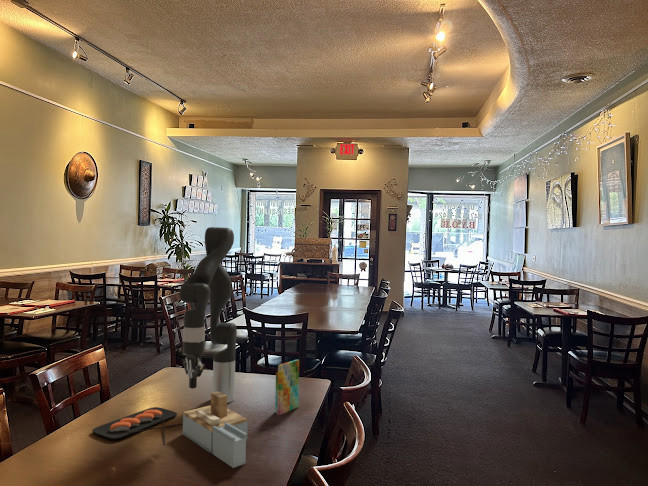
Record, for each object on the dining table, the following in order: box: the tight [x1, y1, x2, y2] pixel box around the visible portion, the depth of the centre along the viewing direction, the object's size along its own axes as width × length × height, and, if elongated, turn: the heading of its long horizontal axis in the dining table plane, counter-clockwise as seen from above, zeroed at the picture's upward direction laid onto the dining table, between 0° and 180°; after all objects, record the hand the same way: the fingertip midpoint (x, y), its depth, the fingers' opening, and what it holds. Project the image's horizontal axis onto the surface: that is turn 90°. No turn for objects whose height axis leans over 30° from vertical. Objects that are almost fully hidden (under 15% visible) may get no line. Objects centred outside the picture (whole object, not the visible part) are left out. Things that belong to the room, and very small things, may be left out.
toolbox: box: [182, 414, 249, 469], centre depth 160 cm, size 33×14×9 cm, turn 43°
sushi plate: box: [91, 406, 183, 446], centre depth 171 cm, size 29×30×4 cm
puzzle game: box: [274, 359, 300, 416], centre depth 193 cm, size 12×5×20 cm, turn 144°
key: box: [196, 409, 220, 426], centre depth 159 cm, size 12×2×2 cm, turn 43°
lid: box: [183, 391, 248, 432], centre depth 164 cm, size 20×14×8 cm
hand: (192, 387), depth 167 cm, fingers closed
